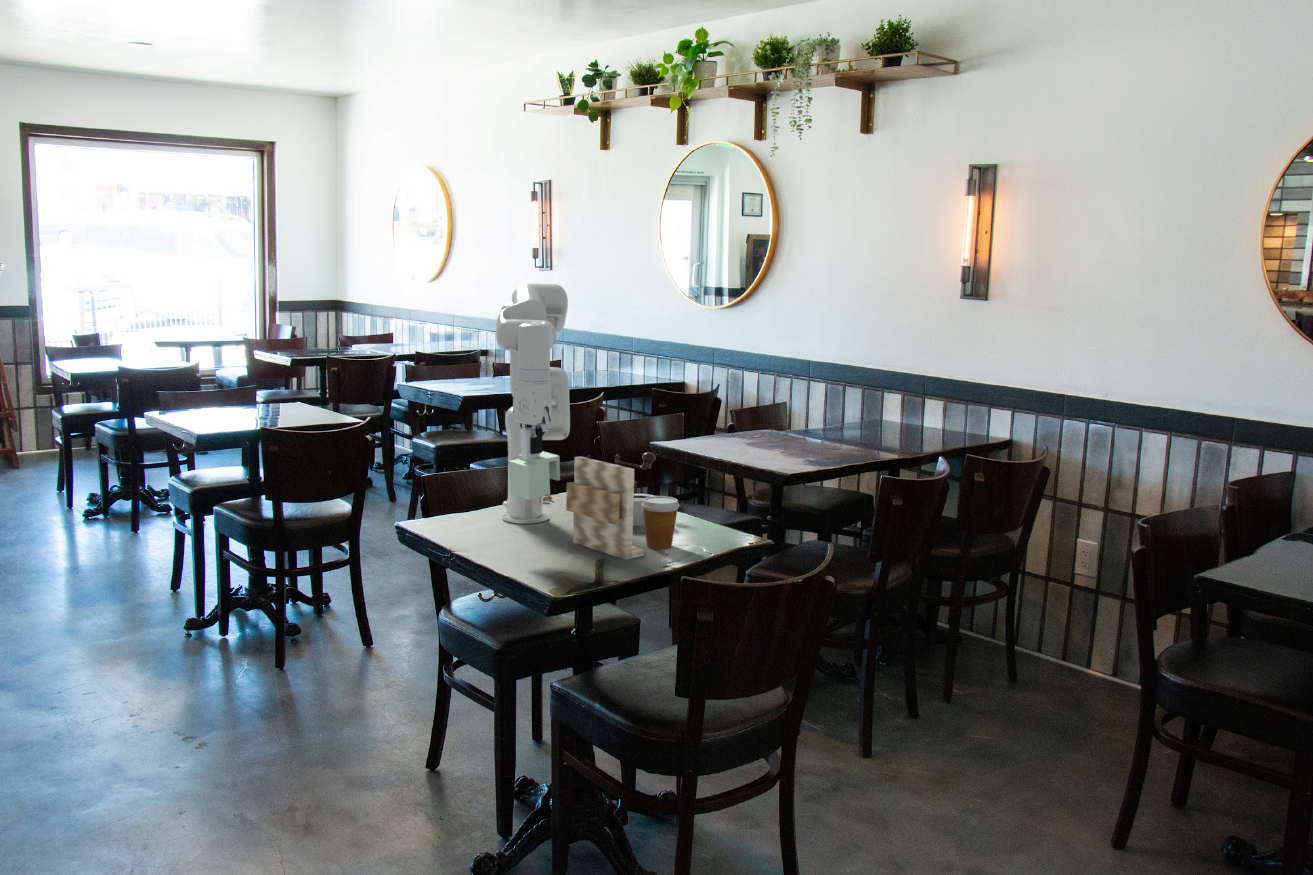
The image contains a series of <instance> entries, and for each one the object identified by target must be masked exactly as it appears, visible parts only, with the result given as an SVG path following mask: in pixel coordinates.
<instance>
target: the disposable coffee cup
mask: <svg viewBox="0 0 1313 875" xmlns="http://www.w3.org/2000/svg"><path fill="white" fill-rule="evenodd" d="M642 506H643V510H644V520H645V526H644V527H645V528H644V529H645V540H646V546H647V548H650V549H654V550H667V549H671V548H672V546H673V540H674V534H675V528H676V521H677V516H678V515H677V513H678V509H679V507H680V504H679V501H678V499H677V498H675V497H673V496H666V495H654V496H651V497H646V498H644V500H643V503H642Z"/></svg>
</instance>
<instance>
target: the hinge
mask: <svg viewBox="0 0 1313 875" xmlns="http://www.w3.org/2000/svg"><path fill="white" fill-rule="evenodd" d="M651 496H655V495H653V494H648V493H647V494H646V493H637V494H634V502H633V527H645V520H644V510H643V506H642V503H643V500H644V498H646V497H651Z"/></svg>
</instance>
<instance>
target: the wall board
mask: <svg viewBox="0 0 1313 875" xmlns="http://www.w3.org/2000/svg"><path fill="white" fill-rule="evenodd" d="M573 468H574V469H573V470H574V471H573V473H574V474H573V475H574V478H573V479H574V481H569V482H566V511H568V512H571V513H573V526H572V527H573V528H572V529H573V532H572V533H573V534H572V535H573V537H572V538H573V540H572V543H574V544H577V545H581V546H583V547H586V548H589V549H592V550H596V551H598V552H601V553H604V554H608V555H611V556H614V557H617V558H620V559H623V560H625V561H626V560H630V559H634V558H639V557H643V556H645V549H643V548H641V547H638V546H634V545H633V534H634V530H633V529H634V526H633V502H634V480H635V468H631V467H629V466H625V465H621V464H619V465H616V463H610V462H607V461H602V460H597V459H593V458H589V457H585V456H574V467H573Z"/></svg>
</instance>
